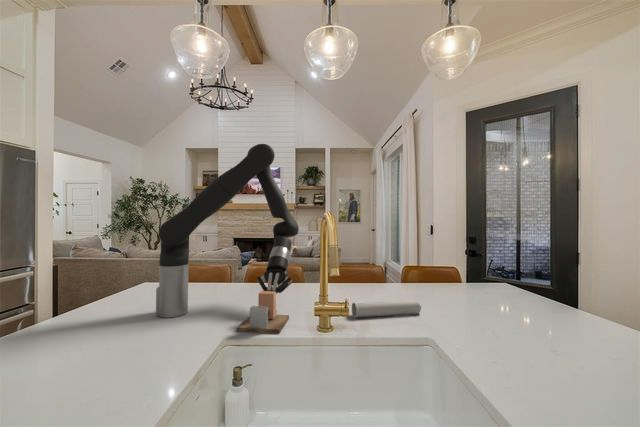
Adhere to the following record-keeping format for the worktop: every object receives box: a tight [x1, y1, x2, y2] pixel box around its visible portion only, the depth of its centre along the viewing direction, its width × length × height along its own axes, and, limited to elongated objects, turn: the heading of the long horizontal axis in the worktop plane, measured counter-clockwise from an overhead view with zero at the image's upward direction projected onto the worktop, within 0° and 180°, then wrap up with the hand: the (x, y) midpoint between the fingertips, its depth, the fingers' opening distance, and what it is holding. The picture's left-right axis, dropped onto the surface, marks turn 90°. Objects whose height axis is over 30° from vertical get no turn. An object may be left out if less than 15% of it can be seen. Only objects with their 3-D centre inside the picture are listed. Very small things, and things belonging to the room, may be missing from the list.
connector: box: [249, 305, 268, 329], centre depth 88 cm, size 5×3×6 cm, turn 84°
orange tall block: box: [257, 290, 277, 319], centre depth 96 cm, size 5×3×8 cm, turn 84°
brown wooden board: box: [236, 314, 290, 334], centre depth 93 cm, size 13×13×1 cm
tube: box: [351, 299, 422, 319], centre depth 103 cm, size 5×5×25 cm
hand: (269, 302), depth 99 cm, fingers closed
